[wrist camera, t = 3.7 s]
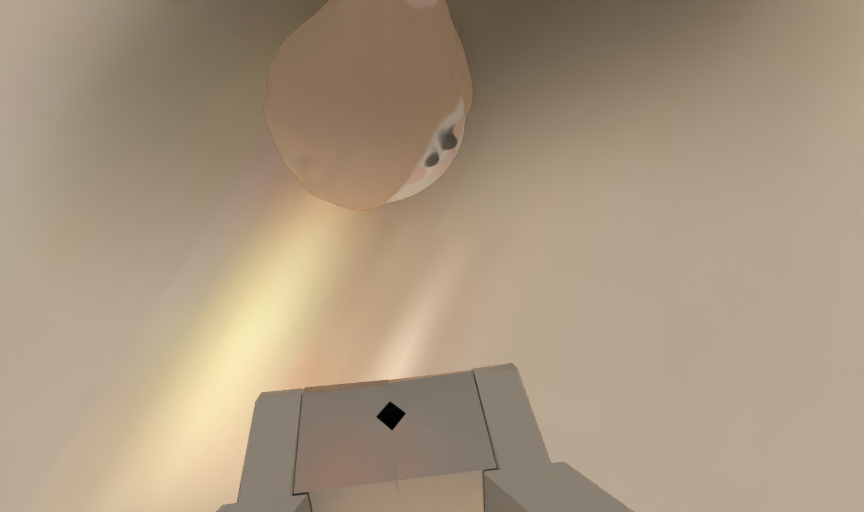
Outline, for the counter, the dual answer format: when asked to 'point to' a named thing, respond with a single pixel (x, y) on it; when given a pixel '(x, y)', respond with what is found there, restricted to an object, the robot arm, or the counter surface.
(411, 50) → the garlic bulb
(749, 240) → the counter surface
